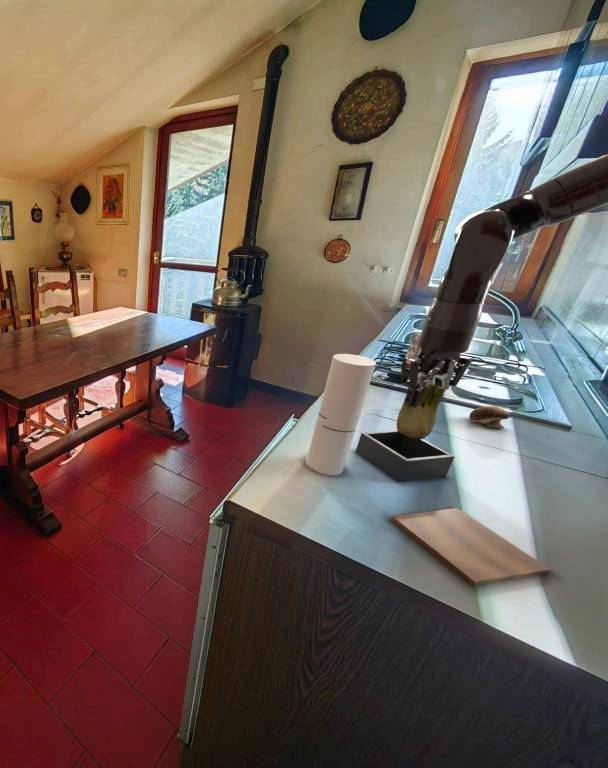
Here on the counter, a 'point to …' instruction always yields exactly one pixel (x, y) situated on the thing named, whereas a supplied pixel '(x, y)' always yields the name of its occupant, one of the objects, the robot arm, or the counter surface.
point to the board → (469, 546)
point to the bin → (404, 456)
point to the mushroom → (489, 416)
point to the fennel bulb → (420, 414)
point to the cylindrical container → (339, 412)
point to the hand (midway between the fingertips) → (421, 404)
